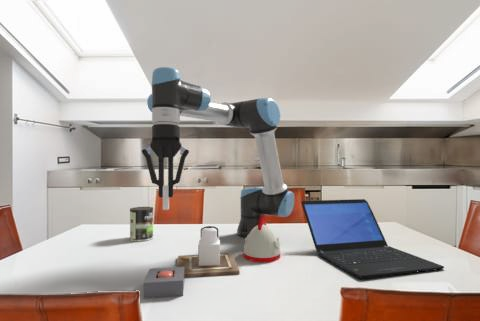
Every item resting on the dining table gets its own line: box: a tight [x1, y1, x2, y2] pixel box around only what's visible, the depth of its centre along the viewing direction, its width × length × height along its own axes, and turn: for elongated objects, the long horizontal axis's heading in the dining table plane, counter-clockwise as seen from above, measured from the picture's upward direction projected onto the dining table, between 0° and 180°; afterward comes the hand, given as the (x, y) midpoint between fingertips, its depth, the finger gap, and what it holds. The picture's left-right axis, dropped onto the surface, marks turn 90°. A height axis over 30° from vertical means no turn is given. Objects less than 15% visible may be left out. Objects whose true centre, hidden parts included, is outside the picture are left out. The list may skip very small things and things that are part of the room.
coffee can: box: [129, 206, 154, 242], centre depth 131 cm, size 10×10×14 cm
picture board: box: [175, 252, 240, 278], centre depth 97 cm, size 20×18×1 cm
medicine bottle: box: [197, 225, 221, 266], centre depth 97 cm, size 7×7×12 cm
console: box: [143, 266, 185, 299], centre depth 79 cm, size 10×10×4 cm
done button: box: [158, 271, 173, 278], centre depth 79 cm, size 4×4×3 cm
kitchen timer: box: [242, 215, 281, 263], centre depth 107 cm, size 14×14×15 cm
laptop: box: [300, 198, 445, 280], centre depth 106 cm, size 33×38×19 cm
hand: (166, 209), depth 79 cm, fingers closed
